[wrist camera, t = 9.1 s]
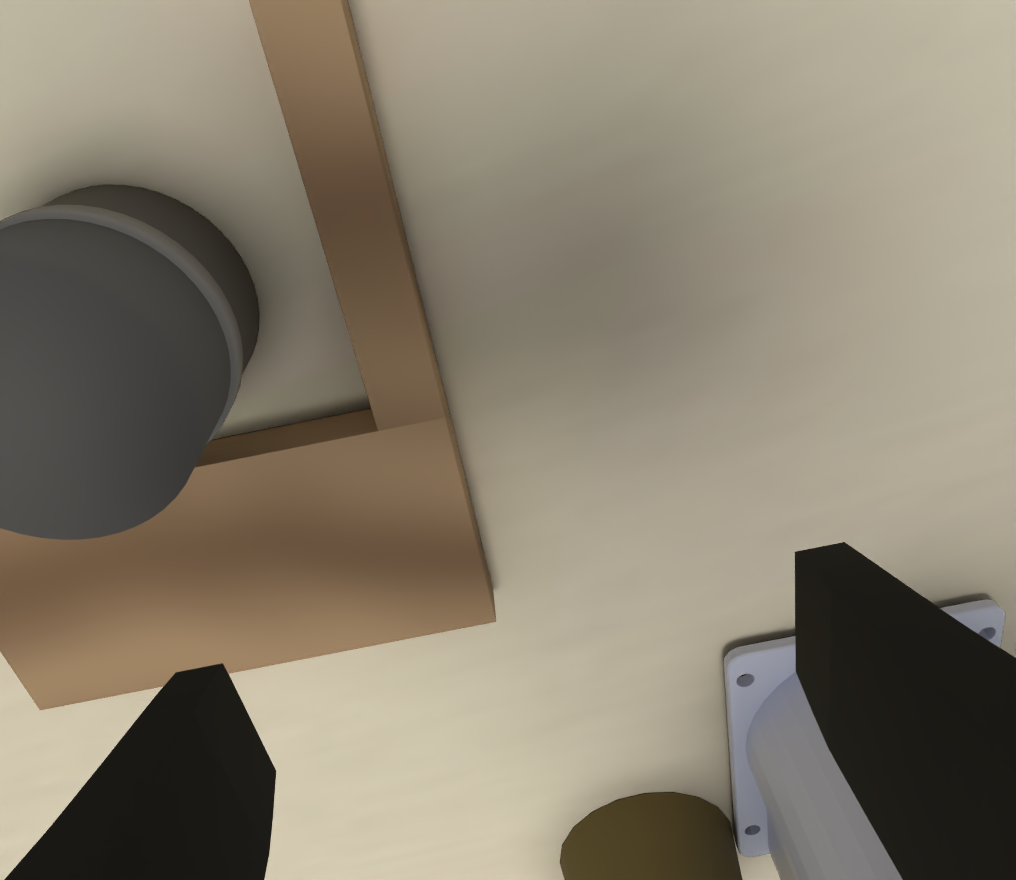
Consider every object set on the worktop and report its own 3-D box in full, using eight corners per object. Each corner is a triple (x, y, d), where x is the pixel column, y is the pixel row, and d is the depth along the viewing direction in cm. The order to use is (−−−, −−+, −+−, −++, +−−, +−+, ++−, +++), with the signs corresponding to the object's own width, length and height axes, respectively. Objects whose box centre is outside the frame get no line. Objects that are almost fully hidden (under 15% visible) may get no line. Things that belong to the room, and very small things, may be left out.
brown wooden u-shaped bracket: (493, 590, 22) (496, 621, 20) (58, 675, 22) (40, 710, 21) (342, -23, 14) (334, -25, 13) (-301, 111, 15) (-357, 120, 14)
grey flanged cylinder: (302, 375, 18) (261, 495, 14) (91, 440, 19) (-15, 578, 14) (194, 144, 16) (102, 202, 11) (-48, 225, 16) (-228, 311, 12)
